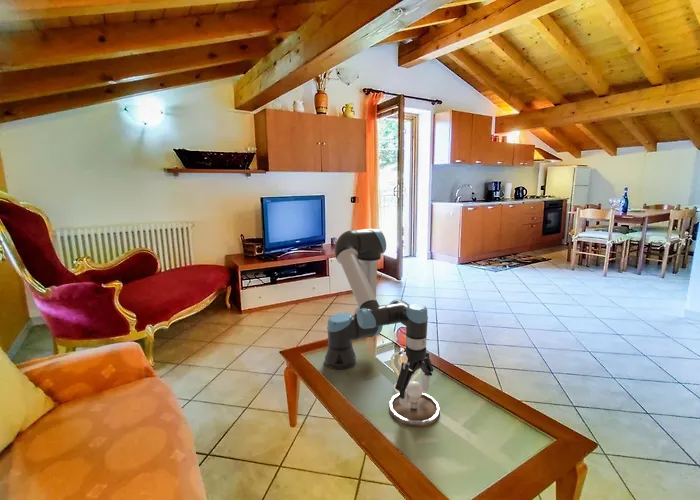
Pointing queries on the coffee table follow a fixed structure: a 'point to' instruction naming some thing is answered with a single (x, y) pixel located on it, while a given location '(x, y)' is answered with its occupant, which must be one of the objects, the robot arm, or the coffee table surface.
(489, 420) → the coffee table surface
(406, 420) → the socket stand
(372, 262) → the robot arm
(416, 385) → the lightbulb
